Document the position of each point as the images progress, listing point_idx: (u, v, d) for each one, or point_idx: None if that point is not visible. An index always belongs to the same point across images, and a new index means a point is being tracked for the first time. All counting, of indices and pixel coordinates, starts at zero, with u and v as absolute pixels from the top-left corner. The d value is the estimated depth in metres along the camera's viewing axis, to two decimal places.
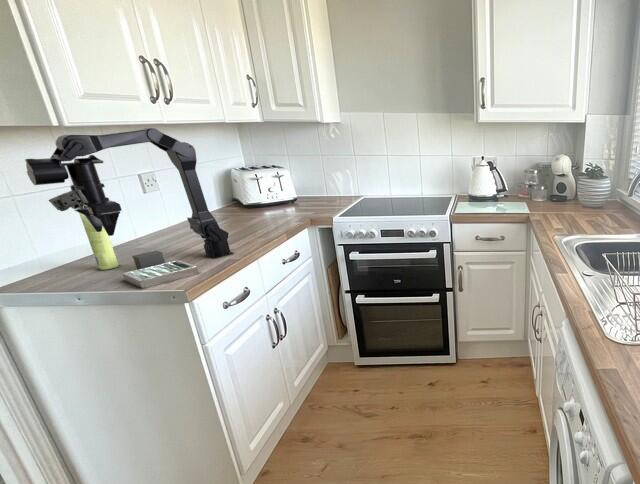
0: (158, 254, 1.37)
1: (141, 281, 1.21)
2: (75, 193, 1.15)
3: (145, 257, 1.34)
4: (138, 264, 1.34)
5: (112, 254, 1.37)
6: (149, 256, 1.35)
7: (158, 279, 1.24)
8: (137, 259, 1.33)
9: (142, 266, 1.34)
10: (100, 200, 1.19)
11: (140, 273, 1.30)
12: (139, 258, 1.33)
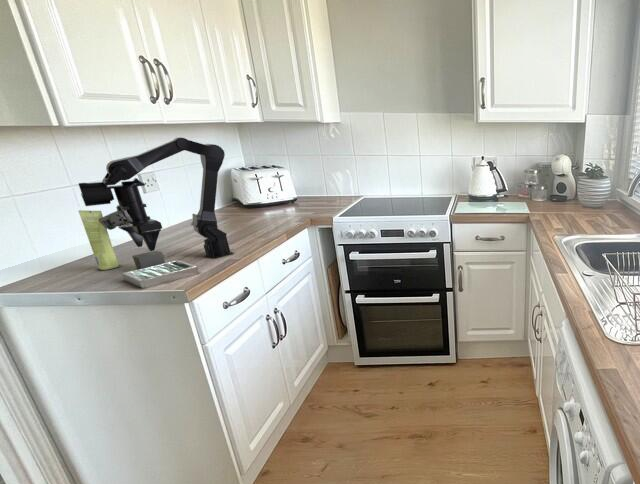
0: (158, 254, 1.37)
1: (141, 281, 1.21)
2: (121, 213, 1.27)
3: (145, 257, 1.34)
4: (138, 264, 1.34)
5: (112, 254, 1.37)
6: (149, 256, 1.35)
7: (158, 279, 1.24)
8: (137, 259, 1.33)
9: (142, 266, 1.34)
10: (143, 219, 1.32)
11: (140, 273, 1.30)
12: (139, 258, 1.33)
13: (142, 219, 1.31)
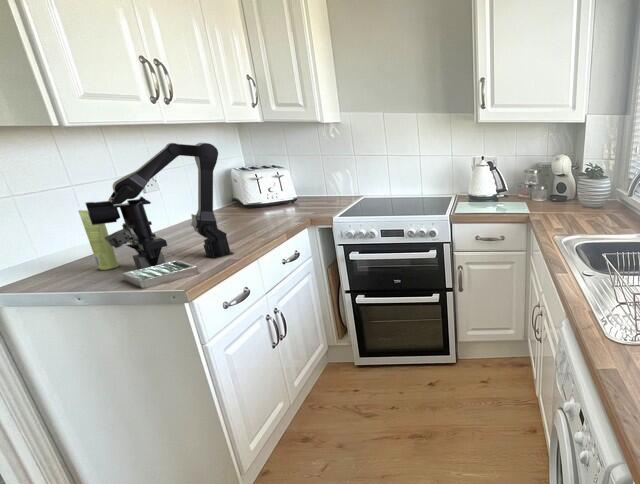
0: None
1: (141, 281, 1.21)
2: (127, 231, 1.29)
3: (145, 257, 1.34)
4: (138, 264, 1.34)
5: (112, 254, 1.37)
6: None
7: (158, 279, 1.24)
8: (137, 259, 1.33)
9: (142, 266, 1.34)
10: (148, 236, 1.34)
11: (140, 273, 1.30)
12: (139, 258, 1.33)
13: (147, 237, 1.33)
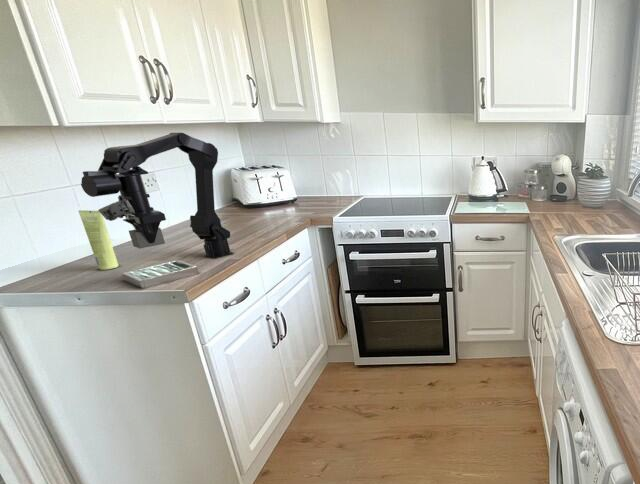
0: None
1: (141, 281, 1.21)
2: (123, 203, 1.20)
3: (142, 232, 1.25)
4: (135, 240, 1.25)
5: (112, 254, 1.37)
6: None
7: (158, 279, 1.24)
8: (133, 234, 1.24)
9: (139, 242, 1.24)
10: (145, 210, 1.24)
11: (140, 273, 1.30)
12: (135, 233, 1.23)
13: (145, 210, 1.24)
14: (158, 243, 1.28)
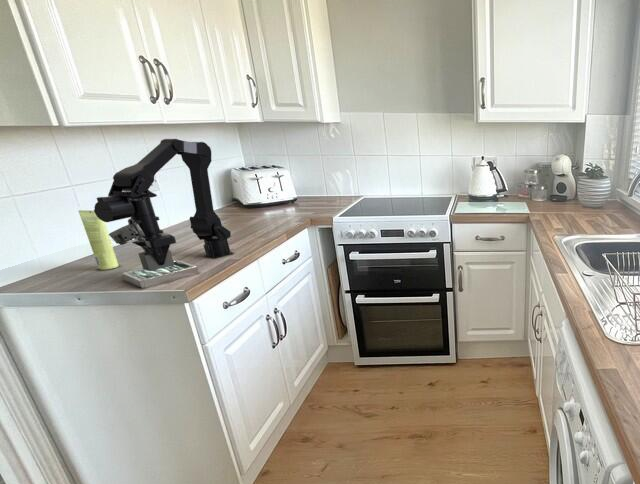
0: None
1: (141, 281, 1.21)
2: (133, 227, 1.20)
3: (152, 255, 1.25)
4: (145, 263, 1.25)
5: (112, 254, 1.37)
6: None
7: (158, 279, 1.24)
8: (143, 257, 1.24)
9: (149, 264, 1.25)
10: (155, 233, 1.25)
11: (140, 273, 1.30)
12: (146, 256, 1.24)
13: (155, 233, 1.24)
14: (168, 265, 1.29)
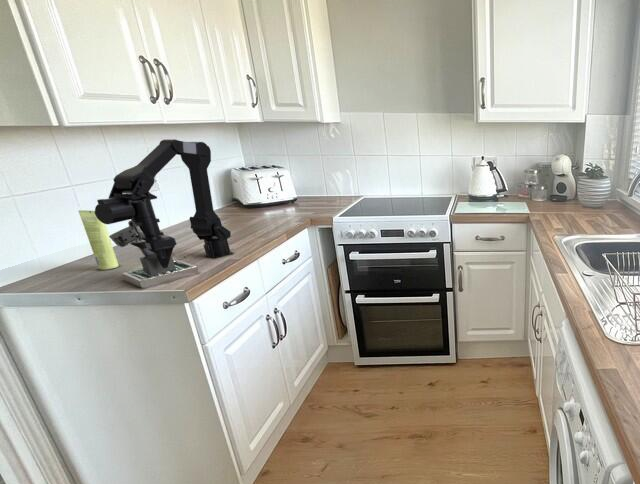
0: None
1: (141, 281, 1.21)
2: (134, 229, 1.21)
3: (153, 259, 1.26)
4: (146, 267, 1.26)
5: (112, 254, 1.37)
6: None
7: (158, 279, 1.24)
8: (145, 262, 1.25)
9: (150, 269, 1.25)
10: (156, 235, 1.25)
11: (140, 273, 1.30)
12: (147, 261, 1.24)
13: (155, 235, 1.25)
14: (169, 269, 1.30)
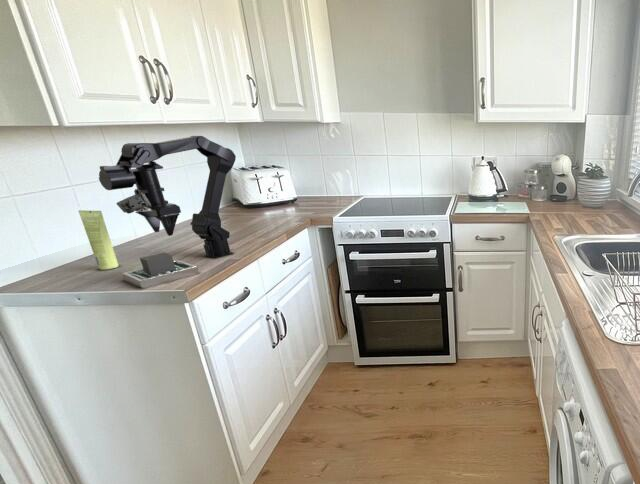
0: (167, 257, 1.29)
1: (141, 281, 1.21)
2: (140, 197, 1.26)
3: (153, 259, 1.26)
4: (146, 267, 1.26)
5: (112, 254, 1.37)
6: (158, 258, 1.27)
7: (158, 279, 1.24)
8: (145, 262, 1.25)
9: (150, 269, 1.25)
10: (161, 203, 1.30)
11: (140, 273, 1.30)
12: (147, 261, 1.24)
13: (160, 203, 1.30)
14: (169, 269, 1.30)
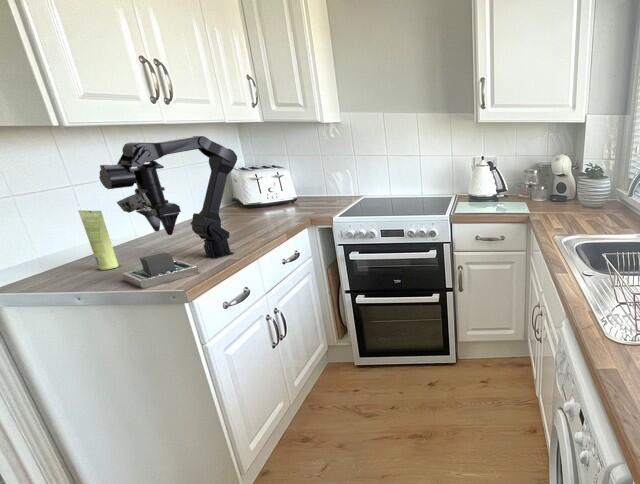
0: (167, 257, 1.29)
1: (141, 281, 1.21)
2: (140, 196, 1.26)
3: (153, 259, 1.26)
4: (146, 267, 1.26)
5: (112, 254, 1.37)
6: (158, 258, 1.27)
7: (158, 279, 1.24)
8: (145, 262, 1.25)
9: (150, 269, 1.25)
10: (161, 202, 1.30)
11: (140, 273, 1.30)
12: (147, 261, 1.24)
13: (160, 202, 1.30)
14: (169, 269, 1.30)
